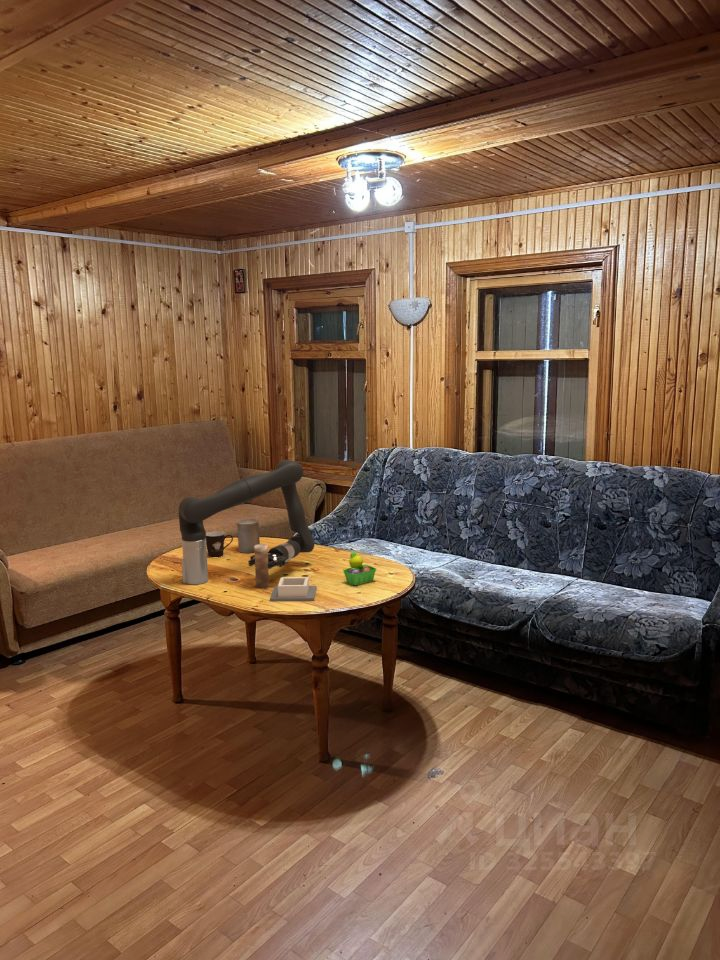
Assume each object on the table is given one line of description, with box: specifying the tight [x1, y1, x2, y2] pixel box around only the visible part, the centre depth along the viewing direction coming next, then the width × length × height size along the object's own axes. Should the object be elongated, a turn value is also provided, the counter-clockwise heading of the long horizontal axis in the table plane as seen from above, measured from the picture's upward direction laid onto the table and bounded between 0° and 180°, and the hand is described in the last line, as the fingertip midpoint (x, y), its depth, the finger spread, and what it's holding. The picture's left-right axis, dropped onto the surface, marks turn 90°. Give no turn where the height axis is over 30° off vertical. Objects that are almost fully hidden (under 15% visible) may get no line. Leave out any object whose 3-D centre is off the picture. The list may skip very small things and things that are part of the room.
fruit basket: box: [342, 551, 377, 586], centre depth 284 cm, size 11×9×11 cm
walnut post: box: [254, 543, 270, 589], centre depth 279 cm, size 5×5×16 cm
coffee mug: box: [206, 531, 234, 558], centre depth 322 cm, size 12×9×10 cm
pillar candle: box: [236, 518, 261, 554], centre depth 329 cm, size 10×10×15 cm
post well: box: [269, 576, 318, 602], centre depth 270 cm, size 16×14×5 cm
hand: (258, 564), depth 277 cm, fingers open, 8 cm apart
